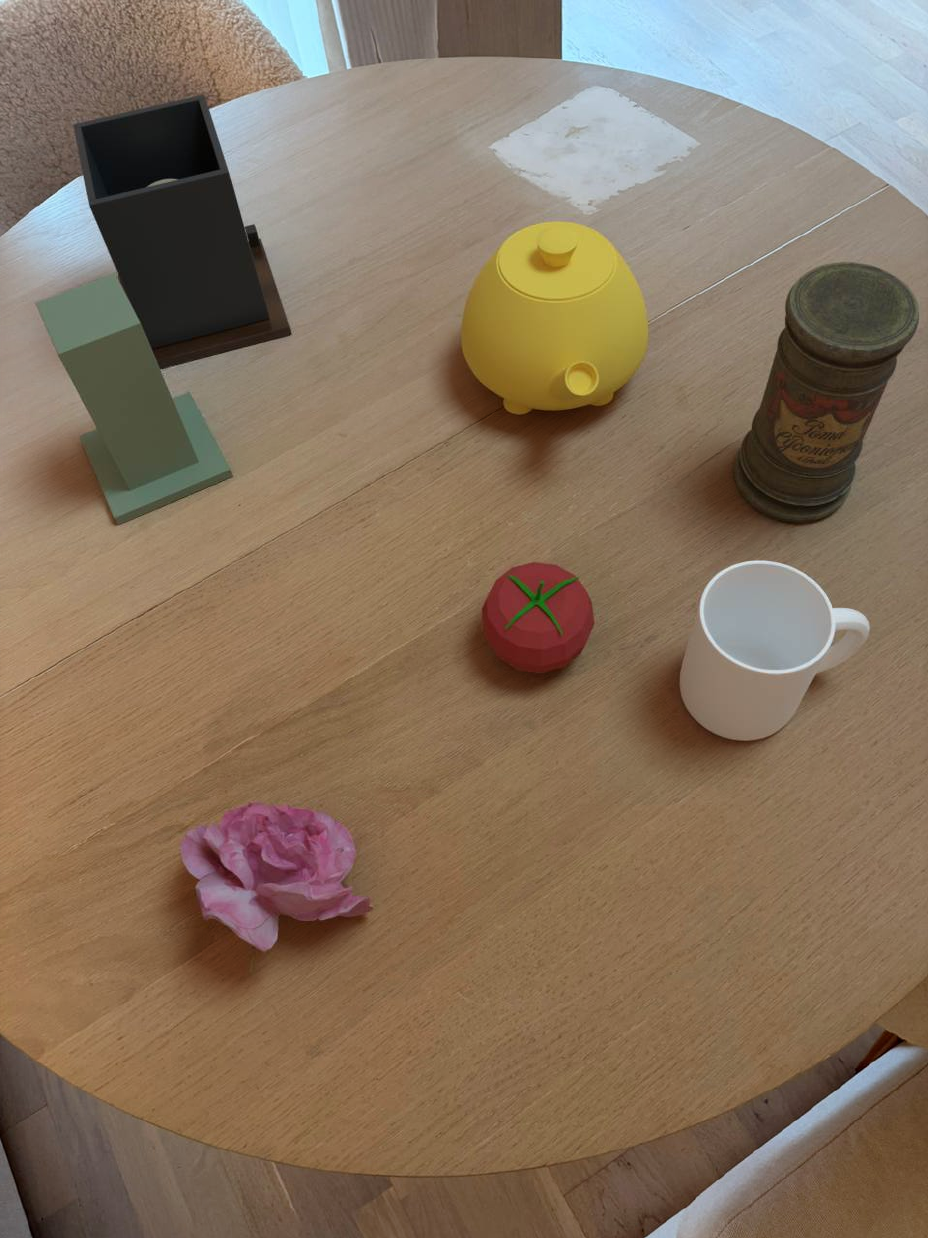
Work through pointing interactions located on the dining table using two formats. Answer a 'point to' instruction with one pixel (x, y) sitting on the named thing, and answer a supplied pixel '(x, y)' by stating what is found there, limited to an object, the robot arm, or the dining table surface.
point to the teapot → (554, 320)
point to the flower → (271, 869)
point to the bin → (171, 220)
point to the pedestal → (129, 403)
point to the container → (824, 389)
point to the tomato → (537, 617)
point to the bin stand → (238, 335)
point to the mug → (761, 648)
